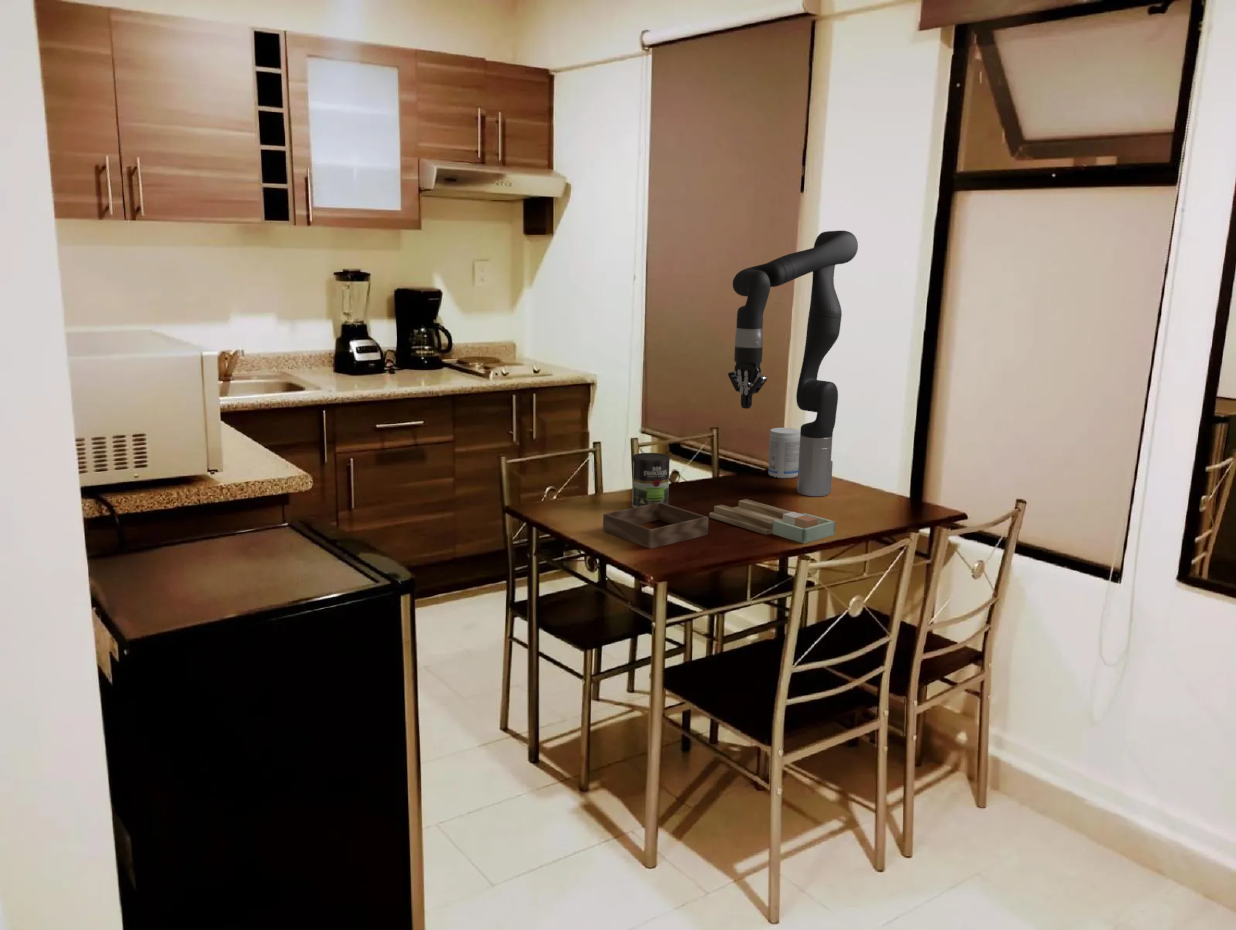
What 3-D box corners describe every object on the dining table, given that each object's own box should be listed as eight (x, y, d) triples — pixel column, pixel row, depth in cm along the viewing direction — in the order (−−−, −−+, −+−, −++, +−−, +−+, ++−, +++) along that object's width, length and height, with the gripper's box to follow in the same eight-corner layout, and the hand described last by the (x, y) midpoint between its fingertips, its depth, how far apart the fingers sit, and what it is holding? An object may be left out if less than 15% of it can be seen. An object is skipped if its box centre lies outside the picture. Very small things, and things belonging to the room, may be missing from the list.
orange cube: (804, 530, 239) (805, 515, 238) (817, 534, 236) (818, 518, 235) (794, 533, 237) (795, 517, 236) (806, 536, 234) (807, 521, 233)
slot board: (750, 507, 261) (750, 498, 261) (807, 523, 246) (807, 513, 246) (709, 517, 251) (709, 507, 251) (765, 534, 236) (766, 524, 236)
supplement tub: (799, 473, 303) (802, 428, 299) (797, 480, 294) (800, 433, 290) (769, 471, 305) (771, 426, 302) (766, 477, 296) (768, 431, 293)
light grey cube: (792, 526, 242) (793, 511, 241) (804, 530, 239) (805, 515, 238) (781, 529, 240) (782, 514, 239) (794, 533, 237) (795, 517, 236)
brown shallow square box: (659, 518, 249) (659, 502, 248) (707, 534, 236) (708, 517, 235) (603, 531, 238) (603, 513, 237) (650, 548, 224) (651, 530, 223)
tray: (803, 525, 245) (804, 513, 244) (834, 534, 237) (835, 521, 236) (772, 533, 237) (773, 520, 236) (803, 543, 230) (804, 530, 229)
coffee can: (673, 509, 258) (675, 459, 255) (638, 512, 255) (638, 461, 252) (661, 500, 268) (662, 451, 265) (627, 502, 265) (627, 453, 262)
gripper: (776, 346, 254) (773, 410, 258) (740, 342, 264) (737, 403, 268) (757, 348, 249) (754, 412, 253) (721, 343, 259) (719, 406, 263)
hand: (746, 408), depth 260 cm, fingers closed
